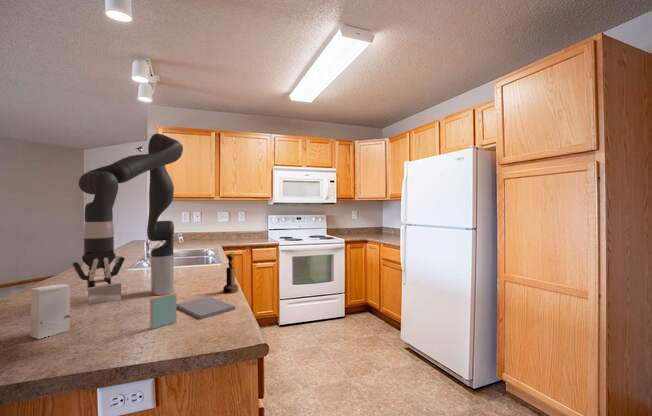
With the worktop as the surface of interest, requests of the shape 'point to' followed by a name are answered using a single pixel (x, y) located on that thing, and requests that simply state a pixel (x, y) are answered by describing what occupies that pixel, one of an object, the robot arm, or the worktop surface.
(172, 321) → the tile
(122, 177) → the robot arm
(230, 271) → the dark brown tall piece
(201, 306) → the board
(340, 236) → the worktop surface
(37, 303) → the skincare box
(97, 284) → the beige rectangular block
